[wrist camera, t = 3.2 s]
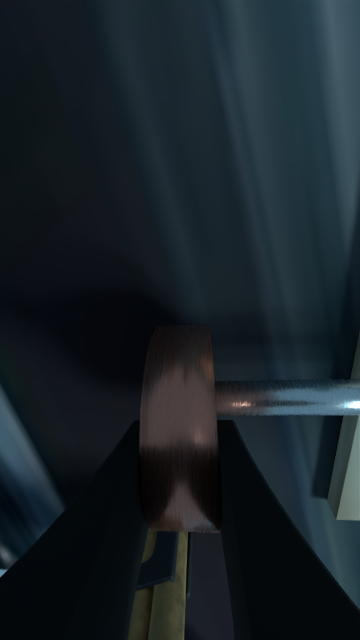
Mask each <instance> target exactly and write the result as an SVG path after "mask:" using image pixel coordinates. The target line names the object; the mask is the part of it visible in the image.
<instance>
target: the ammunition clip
mask: <svg viewBox="0 0 360 640" xmlns="http://www.w3.org/2000/svg"><path fill="white" fill-rule="evenodd" d="M192 547H193V532H178V531H152V530H151V529H150V528H149V529H148V534H147V539H146V544H145V548H144V553H143V558H142V563H141V567H140V572H139V577H138V582H137V586H136V591H135V597H134V602H133V608H132V614H131V620H130V627H129V634H128V640H184V621H185V599H186V598H189V597H190V588H191V568H192Z"/></svg>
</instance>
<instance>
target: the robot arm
mask: <svg viewBox="0 0 360 640" xmlns="http://www.w3.org/2000/svg"><path fill="white" fill-rule="evenodd" d="M217 437H218V460H219V491H220V530H221V537H222V543H223V550H224V557H225V564H226V571H227V578H228V585H229V592H230V599H231V608H232V616H233V626H234V639H235V640H360V610H359V608H358V607H357V606H356V605H355V604H354V602H353V601H352V600H351V599H350V597H349V596H348V595H347V594H346V592H345V591H344V590H343V589H342V587H341V586H340V585H339V583H338V582H337V581H336V580H335V578H334V577H333V576H332V575H331V573H330V572H329V571H328V569H327V568H326V567H325V566H324V564H323V563H322V562H321V560H320V559H319V558H318V556H317V555H316V554H315V552H314V551H313V550H312V548H311V547H310V546H309V544H308V543H307V542H306V540H305V539H304V537H303V536H302V535H301V533H300V532H299V530H298V529H297V528H296V526H295V525H294V523H293V522H292V520H291V519H290V517H289V516H288V514H287V513H286V512H285V510H284V509H283V507H282V506H281V504H280V503H279V501H278V500H277V498H276V496H275V495H274V493H273V492H272V490H271V489H270V487H269V485H268V484H267V482H266V480H265V479H264V477H263V476H262V474H261V472H260V471H259V469H258V467H257V466H256V464H255V462H254V460H253V458H252V457H251V455H250V453H249V451H248V449H247V447H246V445H245V443H244V441H243V439H242V437H241V435H240V433H239V431H238V428H237V426H236V423H235V422H234V421H232V420H217ZM139 440H140V421H134V422H133V423H132V424H131V426H130V427H129V429H128V430H127V431H126V433H125V434H124V436H123V437H122V439H121V440H120V441H119V443H118V444H117V446H116V447H115V448H114V450H113V451H112V452H111V454H110V455H109V456H108V458H107V459H106V460H105V462H104V463H103V464H102V465H101V467H100V468H99V469H98V471H97V472H96V473H95V475H94V476H93V477H92V478H91V480H90V481H89V482H88V483H87V485H86V486H85V487H84V488H83V489H82V490H81V492H80V493H79V494H78V495H77V496H76V498H75V499H74V500H73V501H72V502H71V504H70V505H69V506H68V507H67V508H66V509H65V511H64V512H63V513H62V514H61V515H60V516H59V517H58V518H57V519H56V521H55V522H54V523H53V524H52V525H51V526H50V527H49V528H48V529H47V530H46V532H45V533H44V534H43V535H42V536H41V537H40V538H39V539H38V540H37V541H36V542H35V543H34V544H33V545H32V546H31V547H30V548H29V549H28V550H27V551H26V552H25V553H24V555H22V556H21V557H20V558H19V559H18V560H17V561H16V562H15V563H14V564H13V565H12V566H11V567H10V568H9V569H8V570H7V571H6V572H5V573H4V575H2V576H1V577H0V640H128V634H129V627H130V620H131V614H132V608H133V602H134V597H135V591H136V586H137V582H138V577H139V572H140V567H141V563H142V558H143V553H144V548H145V544H146V539H147V534H148V529H149V526H148V524H147V521H146V518H145V513H144V508H143V500H142V492H141V479H140V443H139Z"/></svg>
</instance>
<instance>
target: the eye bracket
mask: <svg viewBox="0 0 360 640" xmlns="http://www.w3.org/2000/svg"><path fill="white" fill-rule="evenodd" d="M351 379H360V332H359V337H358V342H357V348H356V353H355V358H354V363H353V368H352V374H351ZM327 501H328V503H329V505H330V507H331V510H332V512H333V514H334V516H335V518H336V520H360V415H343V421H342V426H341V431H340V436H339V441H338V447H337V452H336V457H335V462H334V467H333V473H332V478H331V483H330V488H329V494H328V499H327Z"/></svg>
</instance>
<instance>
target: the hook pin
mask: <svg viewBox="0 0 360 640" xmlns="http://www.w3.org/2000/svg"><path fill="white" fill-rule="evenodd" d="M307 415H360V379H326V380H265V381H214V366H213V353H212V341H211V332H210V325H209V324H202V325H173V326H157V327H156V328H155V329H154V331H153V333H152V335H151V338H150V342H149V346H148V350H147V355H146V361H145V367H144V375H143V384H142V395H141V410H140V440H139V443H140V479H141V492H142V500H143V508H144V513H145V518H146V521H147V524H148V526H149V528H150V529H151V530H152V531H178V532H209V533H219V532H220V491H219V460H218V437H217V416H307Z"/></svg>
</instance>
